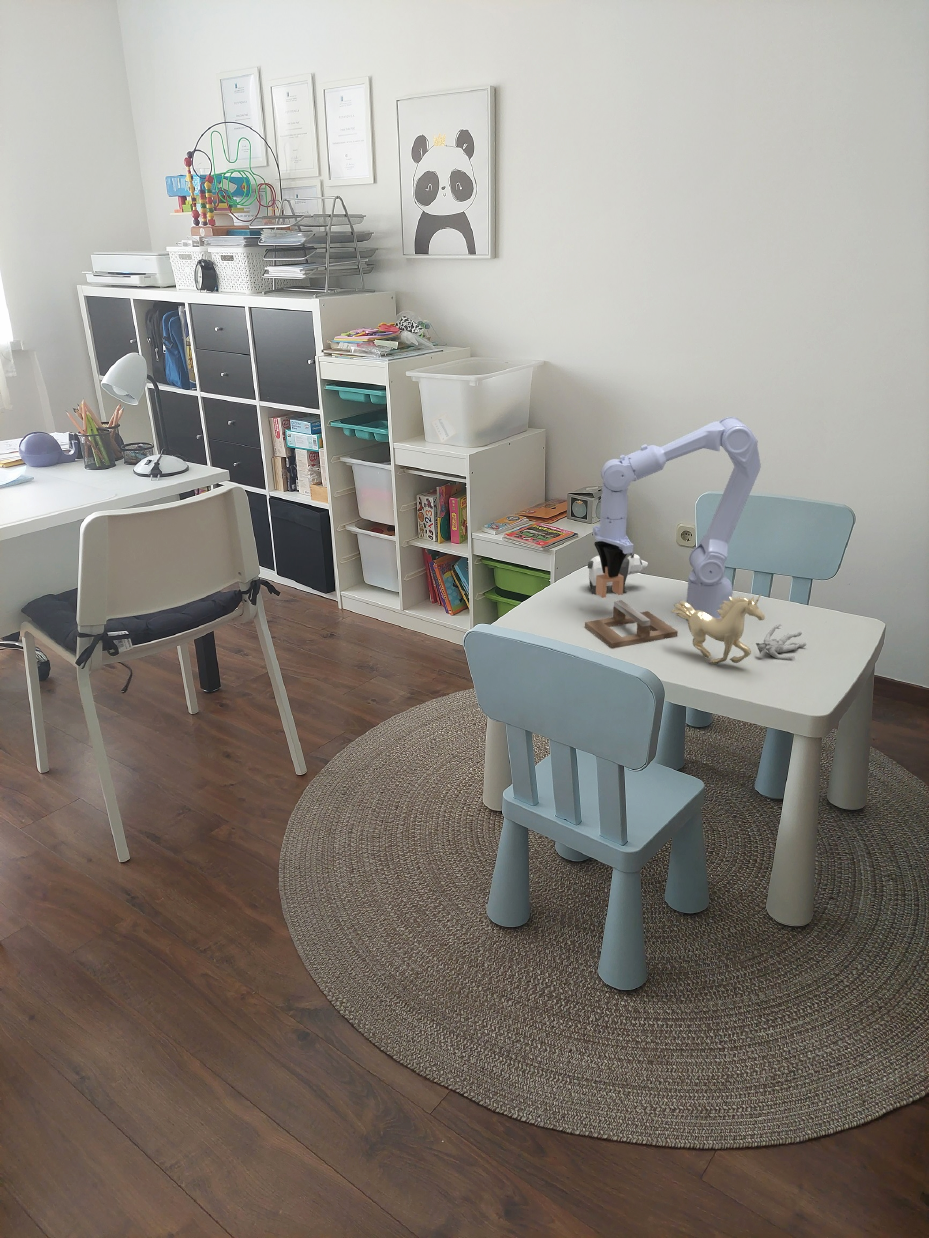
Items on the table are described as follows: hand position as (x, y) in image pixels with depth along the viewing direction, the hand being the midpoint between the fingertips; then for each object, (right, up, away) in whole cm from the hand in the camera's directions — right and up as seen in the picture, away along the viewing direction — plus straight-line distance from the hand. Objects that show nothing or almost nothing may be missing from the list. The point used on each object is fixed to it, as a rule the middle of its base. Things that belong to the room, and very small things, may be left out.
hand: (610, 574), depth 199 cm
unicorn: (+17, -19, -18) cm, 31 cm away
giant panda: (+4, -3, +18) cm, 19 cm away
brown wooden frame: (+4, -13, -5) cm, 14 cm away
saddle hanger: (0, -4, +2) cm, 5 cm away
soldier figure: (+33, -17, -15) cm, 40 cm away
